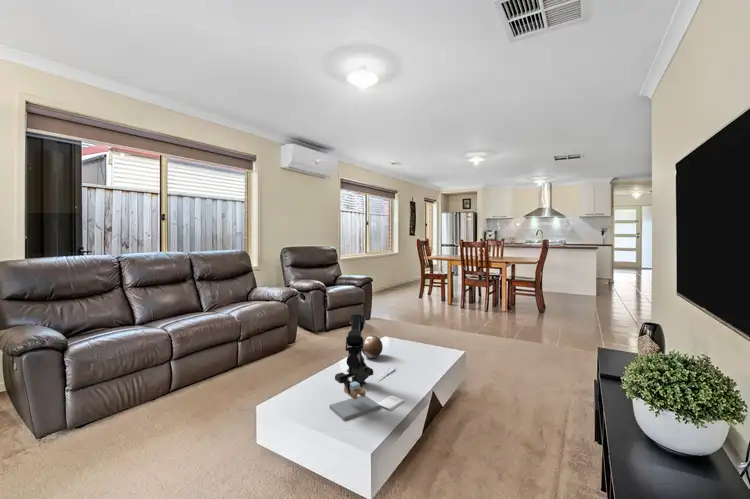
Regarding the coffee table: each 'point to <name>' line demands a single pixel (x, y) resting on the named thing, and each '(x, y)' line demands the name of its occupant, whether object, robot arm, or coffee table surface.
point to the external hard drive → (390, 402)
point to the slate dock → (354, 407)
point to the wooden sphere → (372, 346)
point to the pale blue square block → (354, 385)
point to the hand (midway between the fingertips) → (354, 391)
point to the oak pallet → (355, 392)
